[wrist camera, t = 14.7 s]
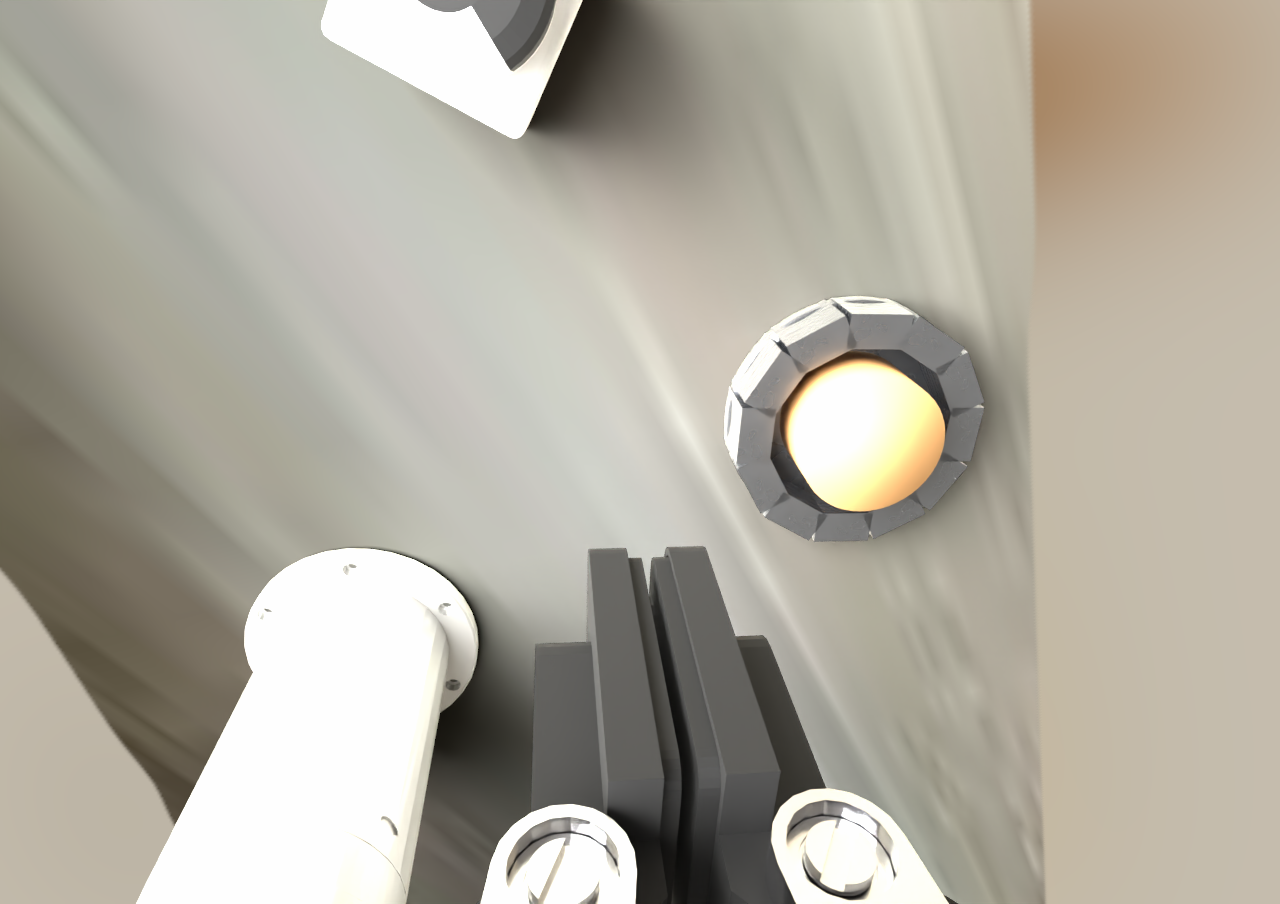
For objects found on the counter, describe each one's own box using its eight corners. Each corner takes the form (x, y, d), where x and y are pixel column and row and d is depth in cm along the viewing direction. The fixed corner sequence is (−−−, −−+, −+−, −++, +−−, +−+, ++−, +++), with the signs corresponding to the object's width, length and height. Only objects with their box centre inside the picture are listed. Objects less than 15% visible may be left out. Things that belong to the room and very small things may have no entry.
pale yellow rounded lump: (894, 474, 41) (926, 511, 38) (771, 474, 41) (792, 511, 37) (922, 352, 38) (960, 380, 35) (789, 349, 37) (814, 377, 34)
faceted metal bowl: (927, 512, 44) (952, 539, 41) (714, 516, 42) (725, 545, 40) (978, 297, 38) (1010, 313, 36) (736, 293, 37) (750, 310, 34)
